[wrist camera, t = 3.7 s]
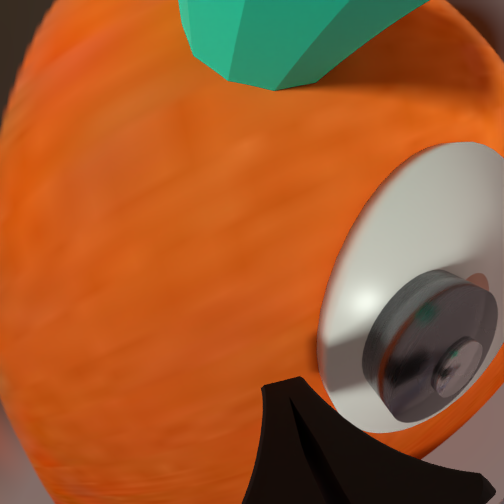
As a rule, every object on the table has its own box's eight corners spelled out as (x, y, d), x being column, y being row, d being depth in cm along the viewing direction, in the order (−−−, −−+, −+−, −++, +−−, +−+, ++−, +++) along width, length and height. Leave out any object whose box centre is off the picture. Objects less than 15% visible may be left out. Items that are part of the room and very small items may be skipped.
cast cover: (450, 361, 11) (483, 390, 8) (357, 407, 10) (385, 452, 8) (469, 255, 9) (518, 275, 7) (363, 291, 9) (416, 332, 6)
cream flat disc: (493, 359, 14) (502, 365, 13) (318, 451, 13) (325, 466, 12) (517, 150, 10) (531, 150, 9) (293, 146, 9) (305, 141, 7)
